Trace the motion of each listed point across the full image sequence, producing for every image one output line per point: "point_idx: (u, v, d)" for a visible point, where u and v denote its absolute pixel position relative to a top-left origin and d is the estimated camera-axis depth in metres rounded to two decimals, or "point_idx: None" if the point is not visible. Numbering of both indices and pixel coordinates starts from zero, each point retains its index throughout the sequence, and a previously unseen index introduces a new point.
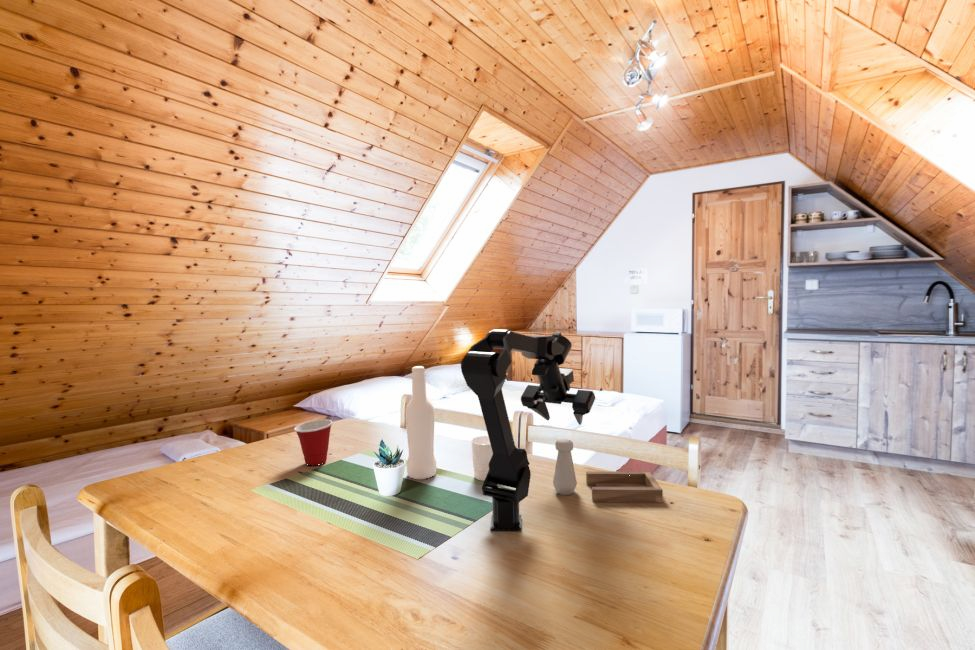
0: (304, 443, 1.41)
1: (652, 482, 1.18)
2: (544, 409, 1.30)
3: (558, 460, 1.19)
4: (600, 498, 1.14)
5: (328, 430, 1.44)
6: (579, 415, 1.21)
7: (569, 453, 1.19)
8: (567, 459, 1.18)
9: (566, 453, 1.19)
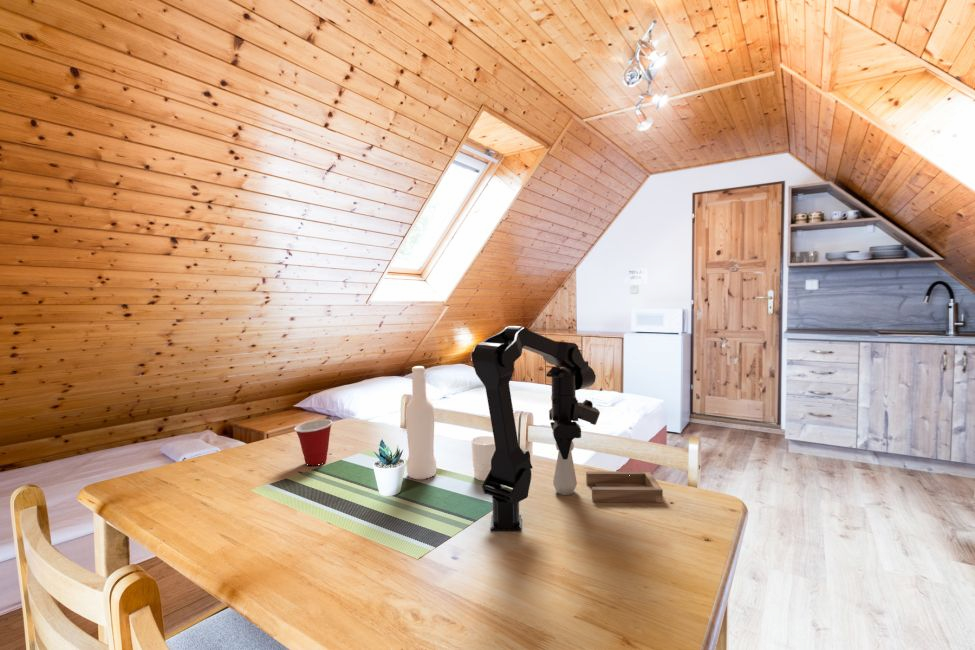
0: (304, 443, 1.41)
1: (652, 482, 1.18)
2: None
3: (558, 460, 1.19)
4: (600, 498, 1.14)
5: (328, 430, 1.44)
6: (554, 437, 1.16)
7: (569, 453, 1.19)
8: (567, 459, 1.18)
9: None
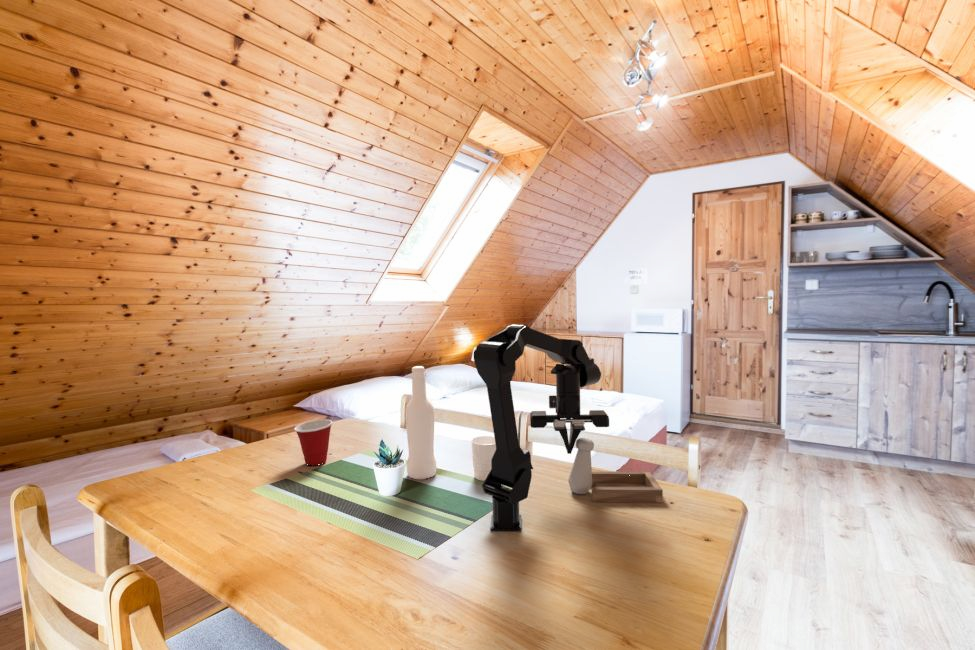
0: (304, 443, 1.41)
1: (652, 482, 1.18)
2: None
3: (577, 458, 1.19)
4: (600, 498, 1.14)
5: (328, 430, 1.44)
6: (578, 432, 1.17)
7: (589, 453, 1.19)
8: (586, 458, 1.18)
9: (586, 452, 1.18)
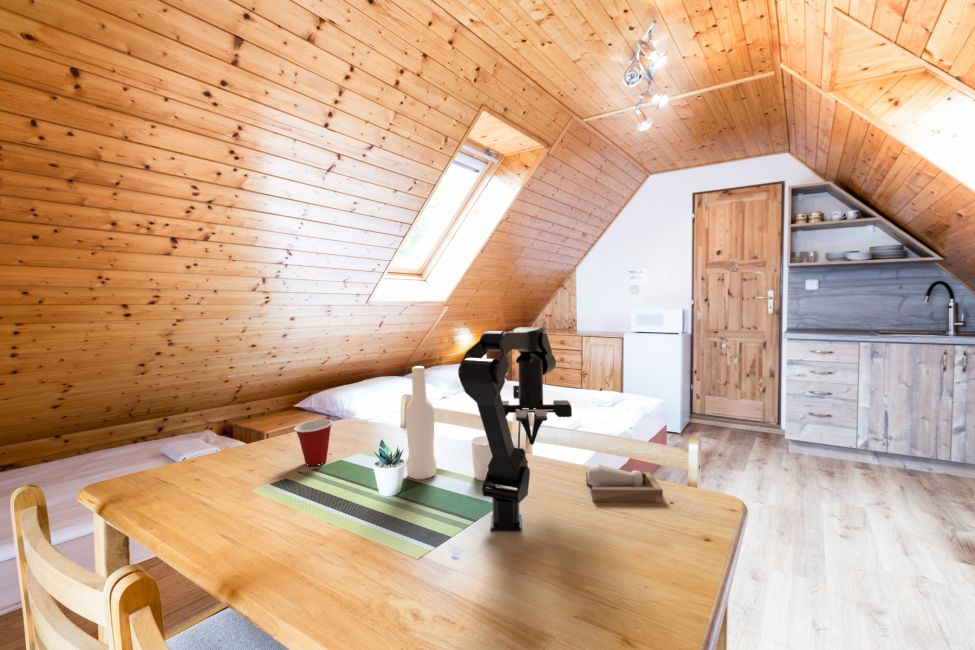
0: (304, 443, 1.41)
1: (652, 482, 1.18)
2: None
3: (622, 471, 1.21)
4: (600, 498, 1.14)
5: (328, 430, 1.44)
6: (540, 422, 1.14)
7: (630, 483, 1.19)
8: (625, 480, 1.19)
9: (631, 480, 1.19)
